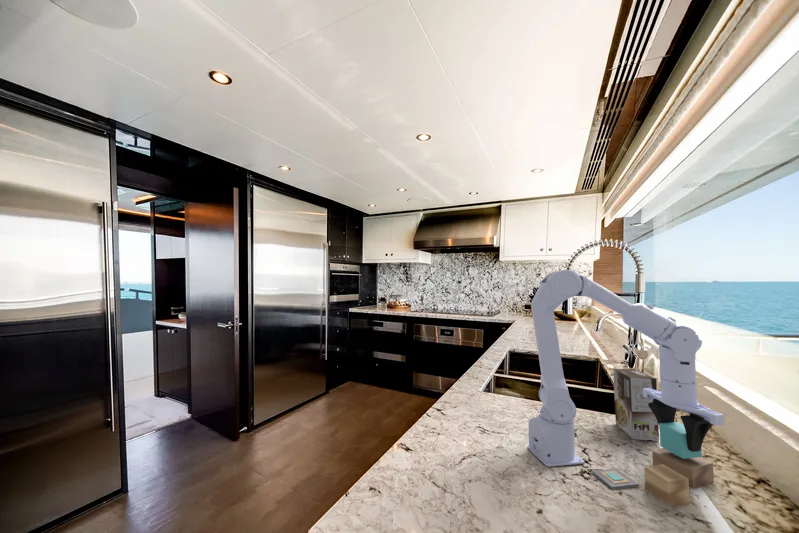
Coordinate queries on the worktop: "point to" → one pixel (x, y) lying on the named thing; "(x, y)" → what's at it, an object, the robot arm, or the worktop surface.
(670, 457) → the walnut block
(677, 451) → the teal block
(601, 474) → the card
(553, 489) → the worktop surface
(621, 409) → the coffee box
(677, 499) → the oak block
